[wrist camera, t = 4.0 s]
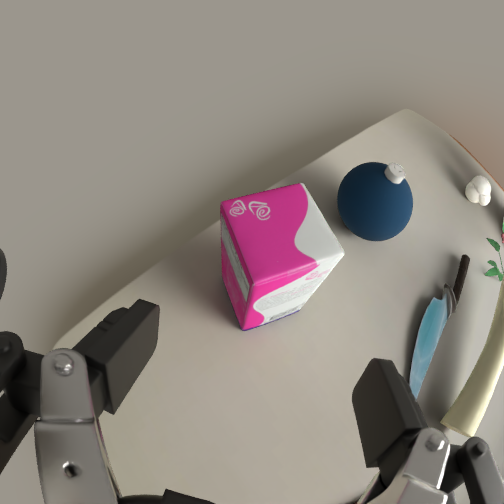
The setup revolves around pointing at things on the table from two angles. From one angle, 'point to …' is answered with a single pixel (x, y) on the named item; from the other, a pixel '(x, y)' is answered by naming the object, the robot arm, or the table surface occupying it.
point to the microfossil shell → (478, 190)
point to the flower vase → (481, 370)
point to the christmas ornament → (375, 200)
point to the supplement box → (274, 253)
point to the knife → (435, 327)
